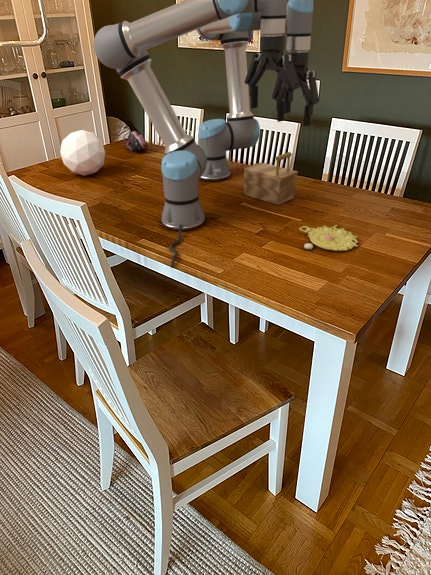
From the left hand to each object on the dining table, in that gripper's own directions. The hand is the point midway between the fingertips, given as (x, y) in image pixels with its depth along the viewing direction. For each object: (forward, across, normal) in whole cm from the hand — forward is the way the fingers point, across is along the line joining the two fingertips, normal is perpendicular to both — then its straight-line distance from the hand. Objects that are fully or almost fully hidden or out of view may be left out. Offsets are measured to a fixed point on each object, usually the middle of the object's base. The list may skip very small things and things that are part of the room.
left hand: (269, 110), depth 144 cm
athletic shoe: (+35, +105, -17) cm, 112 cm away
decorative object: (+35, -30, +5) cm, 46 cm away
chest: (+35, +8, -12) cm, 38 cm away
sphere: (+35, +90, +21) cm, 99 cm away
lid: (+25, +8, -12) cm, 29 cm away
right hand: (+6, -1, -12) cm, 13 cm away
